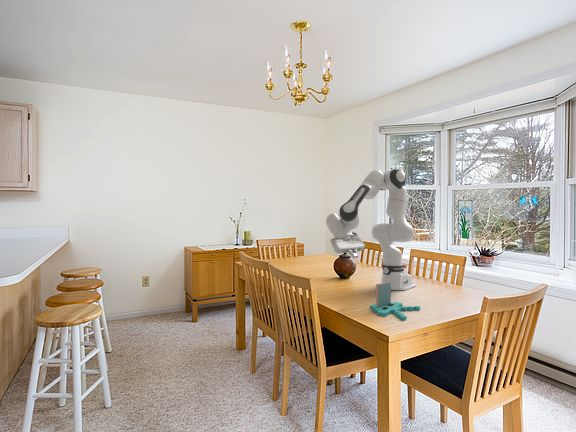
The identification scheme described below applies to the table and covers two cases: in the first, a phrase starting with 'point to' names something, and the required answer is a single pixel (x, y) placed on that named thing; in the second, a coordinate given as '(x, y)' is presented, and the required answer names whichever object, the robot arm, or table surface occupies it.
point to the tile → (383, 294)
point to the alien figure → (393, 309)
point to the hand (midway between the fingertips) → (355, 257)
